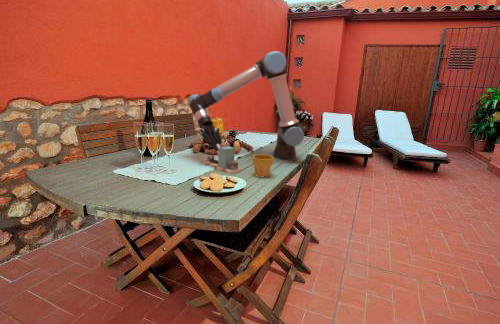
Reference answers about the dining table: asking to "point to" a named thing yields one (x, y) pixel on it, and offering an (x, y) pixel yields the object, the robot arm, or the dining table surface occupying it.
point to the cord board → (230, 169)
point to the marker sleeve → (226, 156)
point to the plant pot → (262, 164)
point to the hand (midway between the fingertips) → (221, 155)
